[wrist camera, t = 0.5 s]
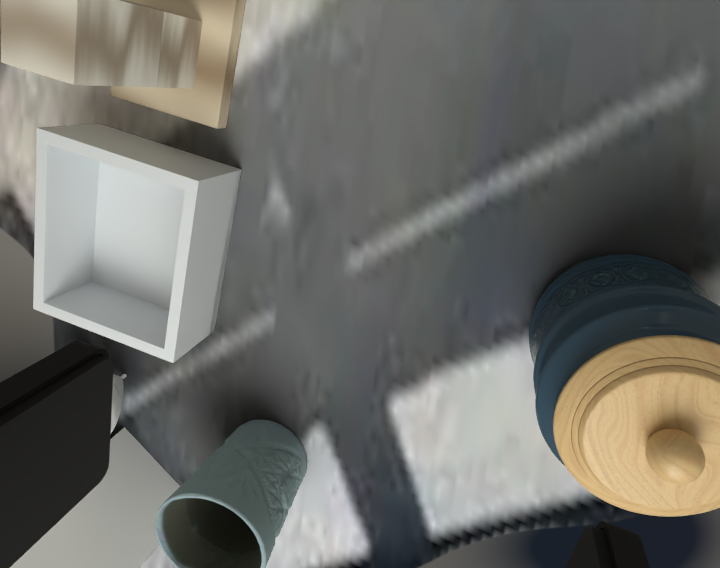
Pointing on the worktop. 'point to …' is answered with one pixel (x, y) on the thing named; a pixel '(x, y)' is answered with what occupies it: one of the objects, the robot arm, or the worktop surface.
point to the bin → (130, 236)
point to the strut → (100, 42)
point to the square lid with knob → (199, 63)
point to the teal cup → (234, 500)
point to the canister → (631, 383)
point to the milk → (109, 516)
